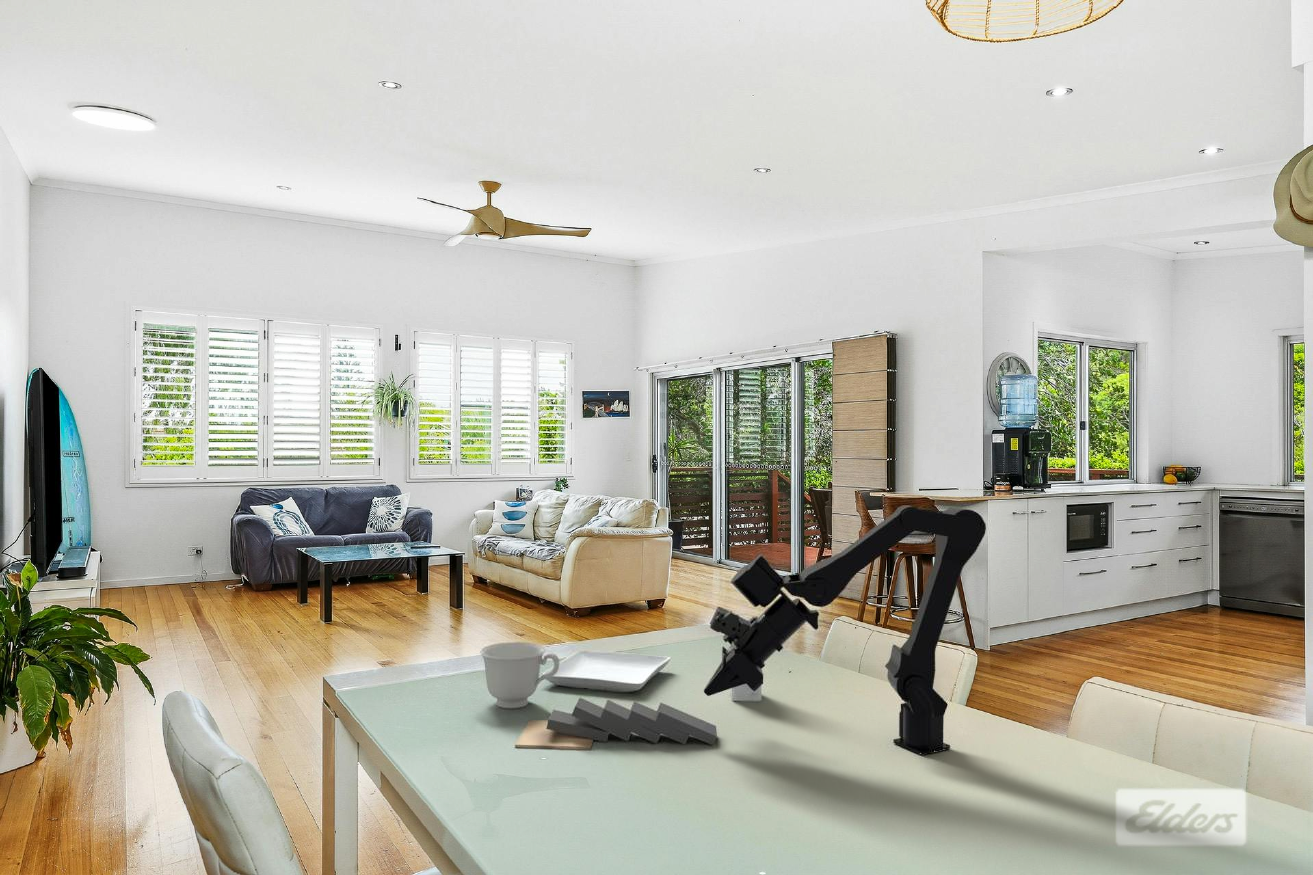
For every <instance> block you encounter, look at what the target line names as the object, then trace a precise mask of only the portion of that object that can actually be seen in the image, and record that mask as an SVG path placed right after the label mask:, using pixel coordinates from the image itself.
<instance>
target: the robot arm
mask: <svg viewBox="0 0 1313 875" xmlns="http://www.w3.org/2000/svg"><path fill="white" fill-rule="evenodd" d="M914 532H918V533H925V534H930V535H935V558H934V561H933V564H932V568H931V570H930V574H929V577H928V580H927V582H926V585H925V588H924V592H923V594H922V597H921V600H920V602H919V603H920V604H919V606H918V609H917V613H916V615H915V618H914V621H913V624H912V628H911V630H910V633H909V636H908V638H907V640H906V641H905V642H904V643H903V644H902V646H901V647H900V646H898V645H896V644H892V647H891V652H890V657H889V660H888V661H887V663H886V664H885V665H884V667H885V668H886V670H887V673H886V674H887V675H886V676H887V680H888V682H889V684H890V687H892V689H893V690H894V691H895V692H896V694H897V695H898V696H899V697H900V699H901V700H902V701H903V702H904V703H900V711H899V713H898V716H899V717H898V718H899V719H898V736H899V737H898V738H894V739H893V741H892V742H893V744H895V745H898V746H900V747H902V748H904V749H907V750H909V749H910V750H909V751H912V752H914V751H915V752H914V753H916V752H917V753H916V754H919V753H921V754H925V753H929V754H932V753H931V752H934V751H938V752H941V751H940V750H942V751H944V750H943V749H947V750H949V749H948V748H950V749H951V745H950V744H948V743H945V742H944V719H945V717H944V716H945V713H946V712H947V708H948V707H949V706H948V703H947V701H946V700H944V698H943V697H942V696H941V695H940V694H939V693H938V691H936V690H935V689H934V685H935V678H936V650H937V647H938V646H937V645H938V643H939V640H940V637H941V635H942V631H943V628H944V625H945V623H946V622H945V621H946V619H947V617H948V614H949V609H950V606H951V605H952V601H953V599H954V596H955V592H956V589H957V586H958V583H959V580H960V578H961V574H962V572H963V569H964V566H966V564H967V563H968V562H969V561H970V559H971V558H972V557H973V556H974V554H976V551H977V550H978V547H979V546H980V544H981V543H982V540H983V539H984V537H985V535H986V532H987V525H986V522H985V520H984V518H983V516H982V515H980V514H979V512H976V511H974V510H972V509H969V508H968V509H967V508H963V507H959V506H952V507H949V508H947V509H945V510H937V509H936V510H934V509H929V508H922V507H921V508H920V507H914V506H912V505H906V504H905V505H901V506H899V507H897V508H896V510H895V511H894V512H893V513H892V514H890V515H889V516H888V517H886V518H885V519H884V520H882V521H881V522H879V523H878V524H877V525H875V526H874V527H873V528H871V529H870V530H869V531H867V532H866V533H865V534H864V535H862V536H861V537H859V538H858V539H857V540H856V541H854V542H852V543H851V544H850V545H849V546H847V547H846V548H845V549H843V550H842V551H841V552H838V553H836V554H835V555H833V556H831V557H828V558H825V559H822V560H820V561H818V562H816V563H814V564H812V565H809V566H808V567H806V568H804V569H803V570H802V571H801V572H800V573H795V574H785V575H780V573H778V571H776V570H775V569H774V568H773V567H772V565H770V563H769V562H768V560H767V559H766V558H765V557H764V555H762V554H759V555H758V556H757V557H756V558H754V559H753V560H752V561H749V563H748V564H745V565H744V566H742V567H741V568H740V569H739V570H738V572H737V573H735V575H734V576H733V577H732V579H731V580H730V584H732V585H733V587H734V588H735V589H737V591H738V592H739V593H740V594H742V596H743V597H744V598H745V599H746V600H747V601H748V602H749V604H751V605H752V606H753V607H754V608H757V607H759V606H760V607H763V608H766V607H767V608H766V609H765V610H764V612H763V613H762V614H761V615H760V616H759V617H758V616H757V615H756V616H752V617H751V618H749V619H750V620H749V621H747V620H745V619H746V618H743V617H741V616H740V615H739V614H736V613H733V612H732V611H729V610H727V609H725V608H723V607H720V606H717V608H716V610H715V612H714V614H713V616H712V618H711V620H710V622H709V628H710V629H711V630H712V631H715V632H716V633H721V634H724V635H723V636H722V638H723V639H722V640H723V641H724V642H725V643H727V642H728V643H729V644H731V646H730V645H729V647H727V648H725V646H722V647H721V662H720V664H719V665H718V667H717V669H716V670H715V671H714V674H713V675H712V676H711V678H710V679H709V681H708V683H707V684H706V686H705V688H704V689H703V693H704V695H705V696H707V697H710V696H712V695H715V694H718V693H721V692H724V691H727V690H730V689H731V688H734V687H737V686H740V685H744V684H747V685H748V686H749V687H750V688H751V689H752V690H753V691H754V692H755V691H756V690H757V689H758V688H759V687H760V686H761V685H763V684H764V673H763V668H764V667H765V666H766V664H765V662H766V661H767V660H768V659H769V658H770V657H771V656H772V655H774V653H775V652H778V653H780V651H782V650H783V649H784V646H783V645H784V644H785V643H786V642H787V641H788V640H789V639H790V638H791V637H792V636H793V635H794V634H795V633H796V632H797V631H798V630H799V629H800V628H802V626H803V625H805V624H806V622H807V623H808V624H809V625H810V626H811V627H812V629H813V630H815V631H817V630H818V629H819V616H820V612H819V611H818V610H817V609H814V610H812V609H810V608H809V607H808V606H807V605H806V604H805V603H804V602H803V601H802V600H801V599H800V598H803V600H804V601H805V602H806V603H807V604H809V605H811V606H812V607H818V608H824V607H826V606H828V605H830V604H832V603H833V602H834V601H835V599H836V598H837V597H838V596H840V594H841V593H842V592H843V591H844V590H845V589H846V587H847V586H848V585H849V583H850V582H851V581H852V579H853V578H854V577H855V576H856V575H857V574H858V573H859V572H861V571H862V570H863V569H865V568H866V567H868V565H870V564H871V563H873V562H874V561H876V559H878V558H880V556H882V555H884V554H885V553H886V552H888V551H889V550H890V549H892V548H893V547H894V546H896V545H897V544H899V543H900V542H901V541H903V540H904V539H905V538H906V537H908V536H909V535H910V534H912V533H914ZM783 588H784V590H786V591H787V592H788V593H789V595H791V596H792V597H798V598H795V599H791V598H790V597H789V596H788V595H787V593H786V592H784V591H783ZM779 595H780V596H779ZM778 596H779V597H778ZM775 599H776V600H775ZM771 603H772V604H771ZM769 605H770V606H769ZM768 606H769V607H768ZM761 687H762V686H761ZM934 753H935V752H934ZM921 754H920V755H921ZM925 755H926V754H925Z"/></svg>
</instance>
